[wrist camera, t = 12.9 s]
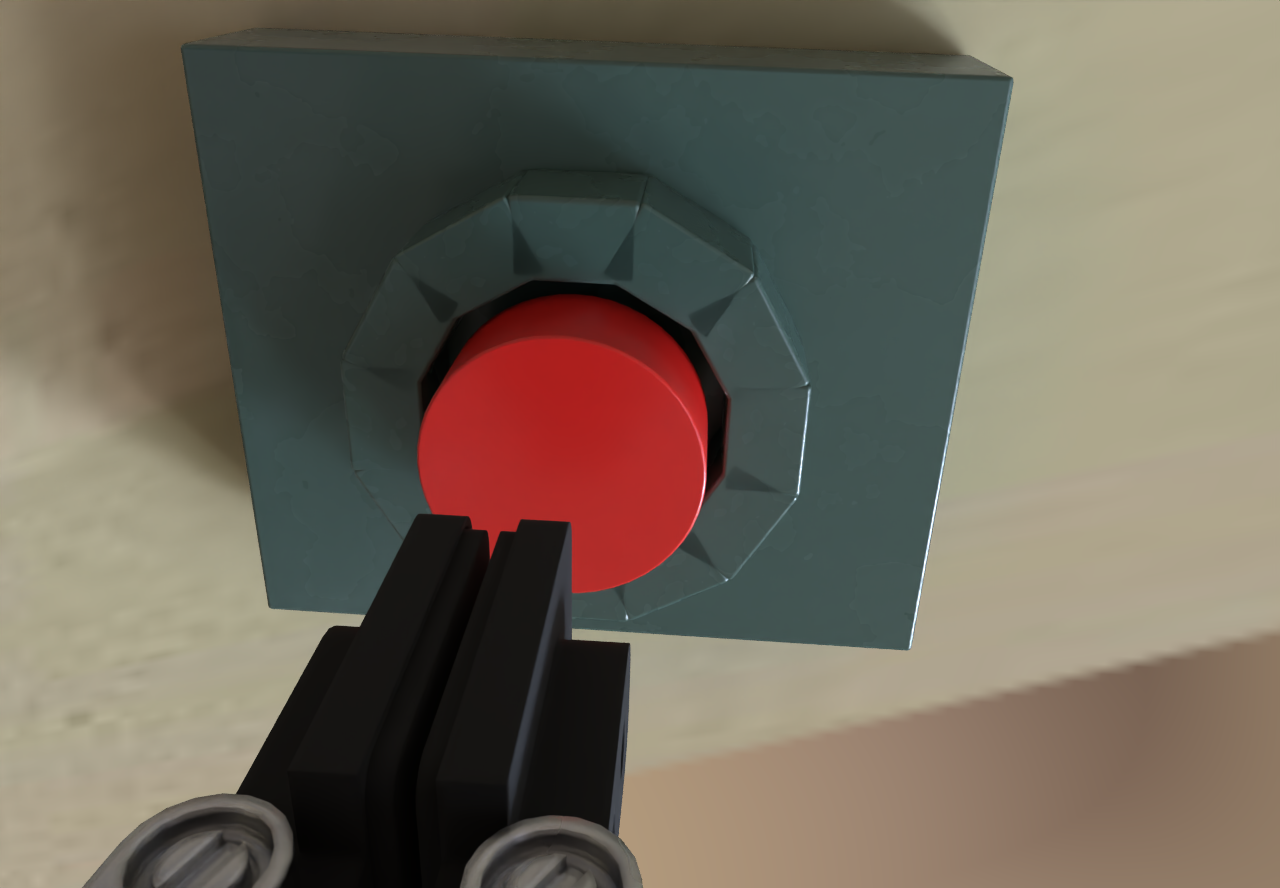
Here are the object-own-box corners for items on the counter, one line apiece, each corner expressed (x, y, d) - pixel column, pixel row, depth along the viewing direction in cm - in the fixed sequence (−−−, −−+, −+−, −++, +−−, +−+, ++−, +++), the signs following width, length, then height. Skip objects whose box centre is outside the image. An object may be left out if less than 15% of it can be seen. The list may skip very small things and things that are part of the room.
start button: (700, 539, 17) (698, 603, 15) (452, 523, 17) (425, 586, 15) (715, 299, 15) (715, 344, 13) (438, 285, 15) (405, 327, 13)
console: (890, 570, 21) (929, 719, 17) (317, 534, 22) (227, 671, 18) (974, 54, 17) (1052, 95, 13) (252, 27, 18) (113, 57, 14)
